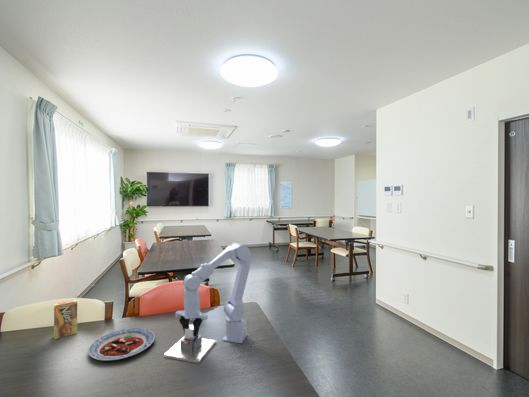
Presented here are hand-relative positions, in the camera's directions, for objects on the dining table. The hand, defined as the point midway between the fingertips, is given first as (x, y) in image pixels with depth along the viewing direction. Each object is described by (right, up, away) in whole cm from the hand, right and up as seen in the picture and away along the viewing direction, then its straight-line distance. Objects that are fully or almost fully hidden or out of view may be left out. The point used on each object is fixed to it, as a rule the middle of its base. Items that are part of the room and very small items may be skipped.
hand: (191, 334), depth 116 cm
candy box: (-63, -6, +12) cm, 65 cm away
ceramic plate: (-31, -7, +2) cm, 31 cm away
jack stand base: (0, -6, 0) cm, 6 cm away
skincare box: (-8, -7, +31) cm, 33 cm away
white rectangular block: (0, -5, 0) cm, 5 cm away
